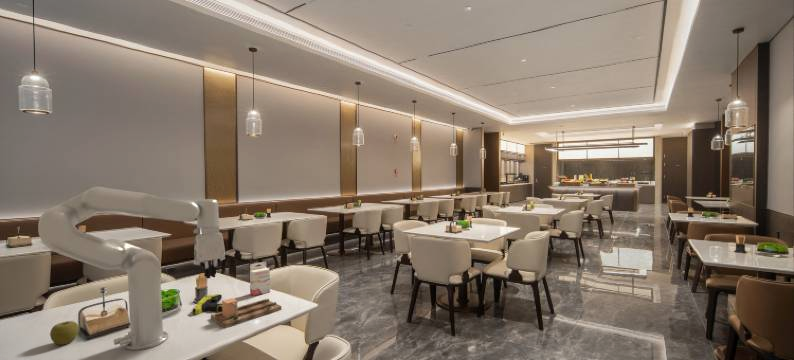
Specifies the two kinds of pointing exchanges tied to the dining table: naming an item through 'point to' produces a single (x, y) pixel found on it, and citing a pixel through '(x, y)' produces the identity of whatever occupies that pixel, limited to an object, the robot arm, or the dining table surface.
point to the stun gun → (208, 304)
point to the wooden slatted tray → (246, 313)
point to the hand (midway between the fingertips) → (210, 277)
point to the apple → (64, 332)
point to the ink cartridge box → (259, 279)
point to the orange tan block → (229, 307)
